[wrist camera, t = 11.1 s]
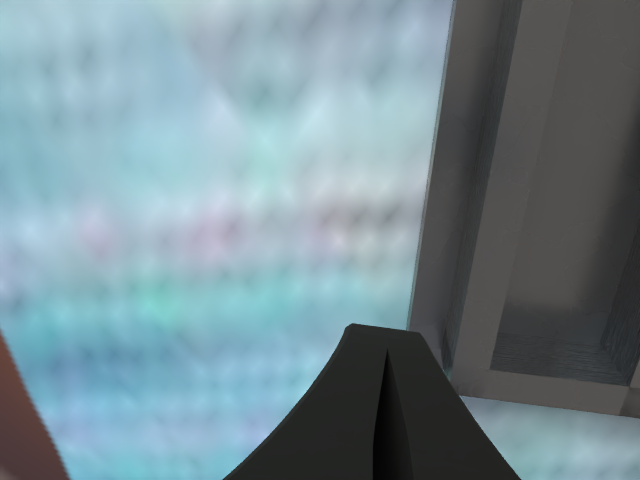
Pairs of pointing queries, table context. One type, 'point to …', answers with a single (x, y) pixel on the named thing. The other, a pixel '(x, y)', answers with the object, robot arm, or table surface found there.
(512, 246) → the rack
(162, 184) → the table surface
